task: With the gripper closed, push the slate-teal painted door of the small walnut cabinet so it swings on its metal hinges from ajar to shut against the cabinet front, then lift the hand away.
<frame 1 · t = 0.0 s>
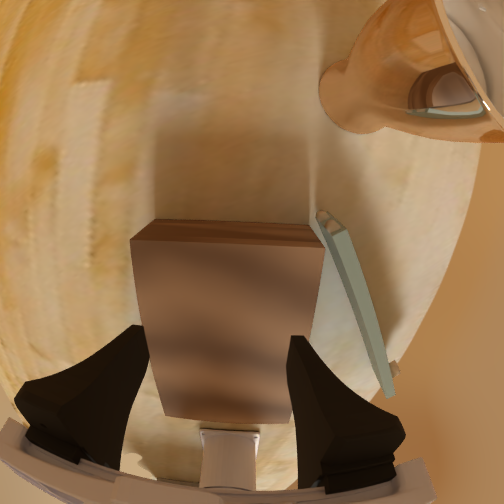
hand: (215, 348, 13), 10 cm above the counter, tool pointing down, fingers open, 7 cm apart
cabinet door: (372, 316, 21), point 3 cm above the counter, hinge at 30.0°
cabinet: (228, 320, 24), on the counter
hip flask: (193, 483, 41), on the counter
beer glass: (355, 96, 17), on the counter
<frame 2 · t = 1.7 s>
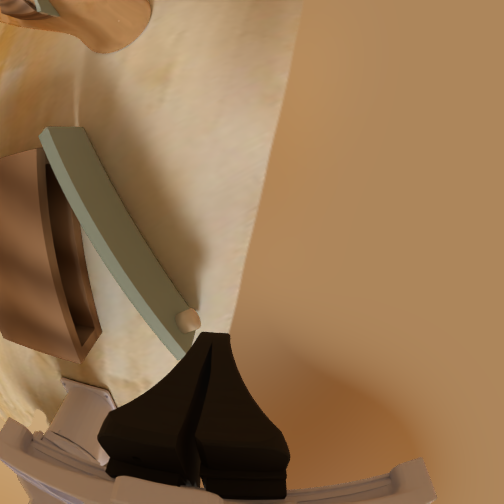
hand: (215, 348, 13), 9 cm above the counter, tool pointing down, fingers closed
cabinet door: (123, 232, 17), point 3 cm above the counter, hinge at 30.0°
cabinet: (38, 246, 21), on the counter
beer glass: (118, 23, 14), on the counter
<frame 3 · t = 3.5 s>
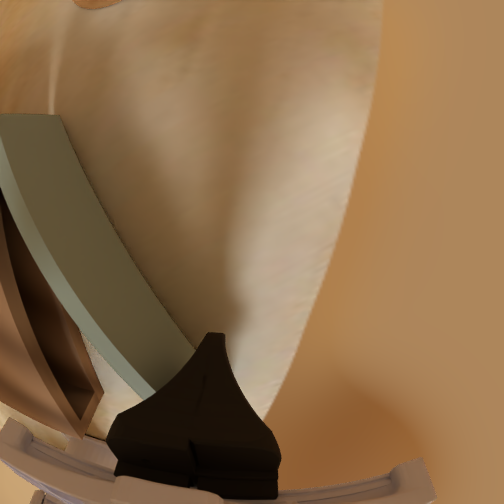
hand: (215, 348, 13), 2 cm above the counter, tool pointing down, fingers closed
cabinet door: (121, 291, 11), point 3 cm above the counter, hinge at 28.5°, touching gripper
cabinet: (12, 285, 14), on the counter
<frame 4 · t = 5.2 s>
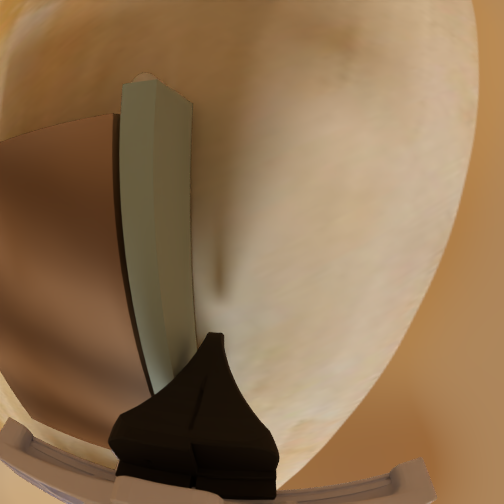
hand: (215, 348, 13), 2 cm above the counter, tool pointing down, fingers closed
cabinet door: (186, 329, 11), point 3 cm above the counter, hinge at -0.2°, touching gripper
cabinet: (79, 295, 14), on the counter
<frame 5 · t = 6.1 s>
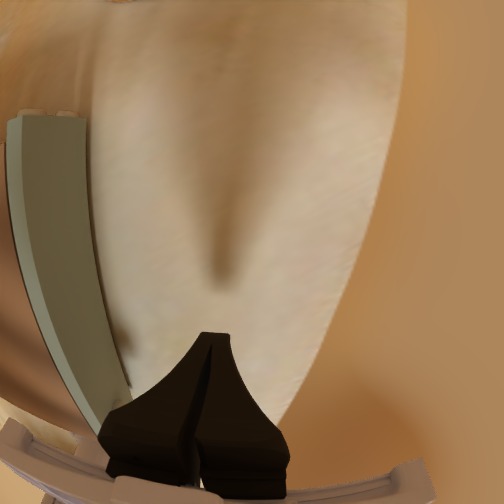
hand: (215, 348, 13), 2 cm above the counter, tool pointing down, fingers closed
cabinet door: (82, 312, 11), point 3 cm above the counter, hinge at -0.2°
cabinet: (26, 284, 14), on the counter
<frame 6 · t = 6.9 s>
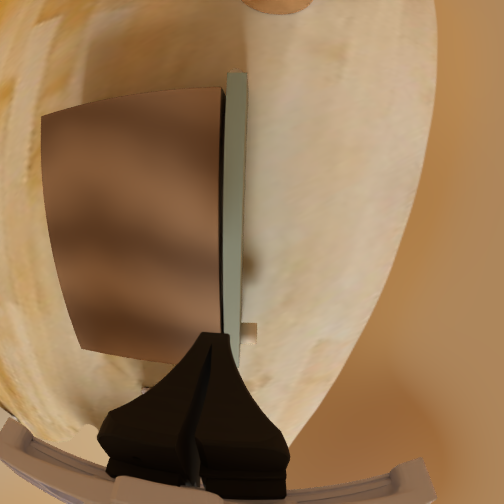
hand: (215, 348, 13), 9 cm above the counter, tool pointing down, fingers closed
cabinet door: (244, 229, 17), point 3 cm above the counter, hinge at -0.2°
cabinet: (148, 225, 20), on the counter
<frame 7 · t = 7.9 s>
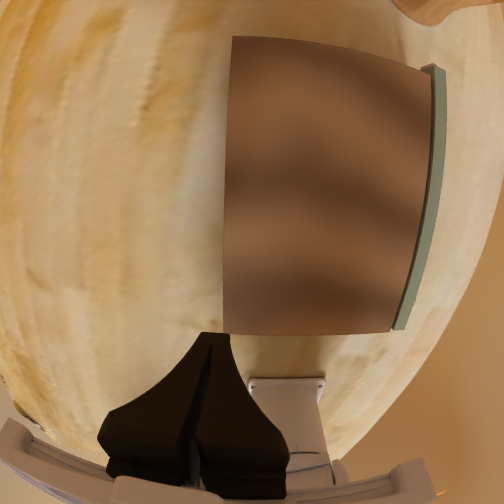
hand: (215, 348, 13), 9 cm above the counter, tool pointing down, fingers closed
cabinet door: (421, 196, 16), point 3 cm above the counter, hinge at -0.2°
cabinet: (315, 188, 19), on the counter
beer glass: (414, 0, 13), on the counter
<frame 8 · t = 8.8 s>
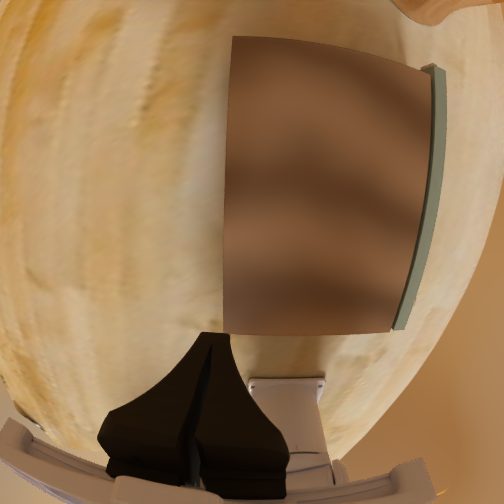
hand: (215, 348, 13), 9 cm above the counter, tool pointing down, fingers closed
cabinet door: (421, 196, 16), point 3 cm above the counter, hinge at -0.2°
cabinet: (315, 188, 19), on the counter
beer glass: (414, 0, 13), on the counter
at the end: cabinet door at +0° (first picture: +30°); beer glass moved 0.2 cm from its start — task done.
